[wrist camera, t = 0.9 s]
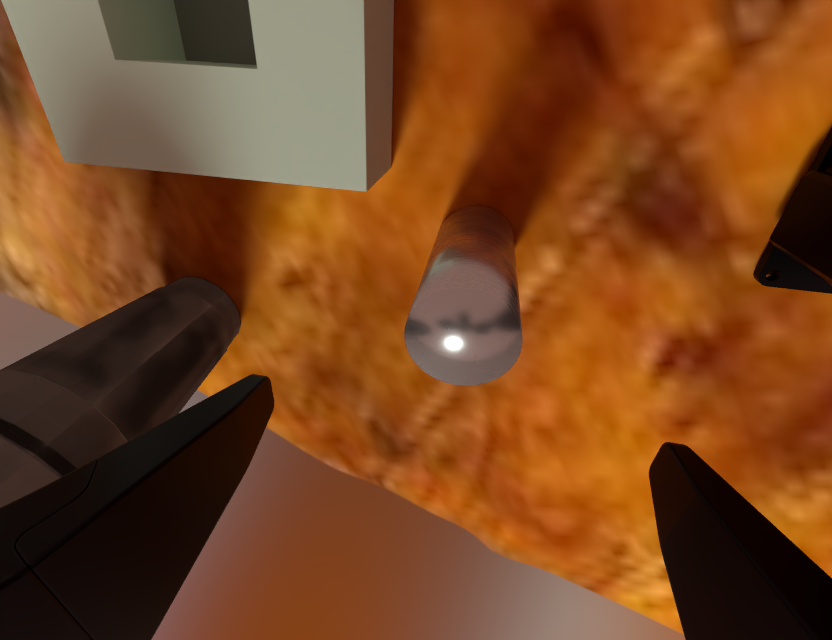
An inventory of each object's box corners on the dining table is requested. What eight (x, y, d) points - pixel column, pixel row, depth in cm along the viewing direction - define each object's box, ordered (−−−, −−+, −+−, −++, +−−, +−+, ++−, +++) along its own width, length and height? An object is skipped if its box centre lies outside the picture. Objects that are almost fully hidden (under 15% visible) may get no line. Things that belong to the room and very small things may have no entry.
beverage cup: (124, 250, 23) (-953, 786, 6) (245, 255, 21) (-656, 941, 5) (169, 357, 26) (-401, 864, 10) (275, 366, 25) (-165, 961, 8)
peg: (520, 209, 18) (533, 296, 11) (506, 281, 20) (510, 393, 13) (440, 201, 18) (406, 281, 12) (434, 272, 20) (402, 376, 13)
